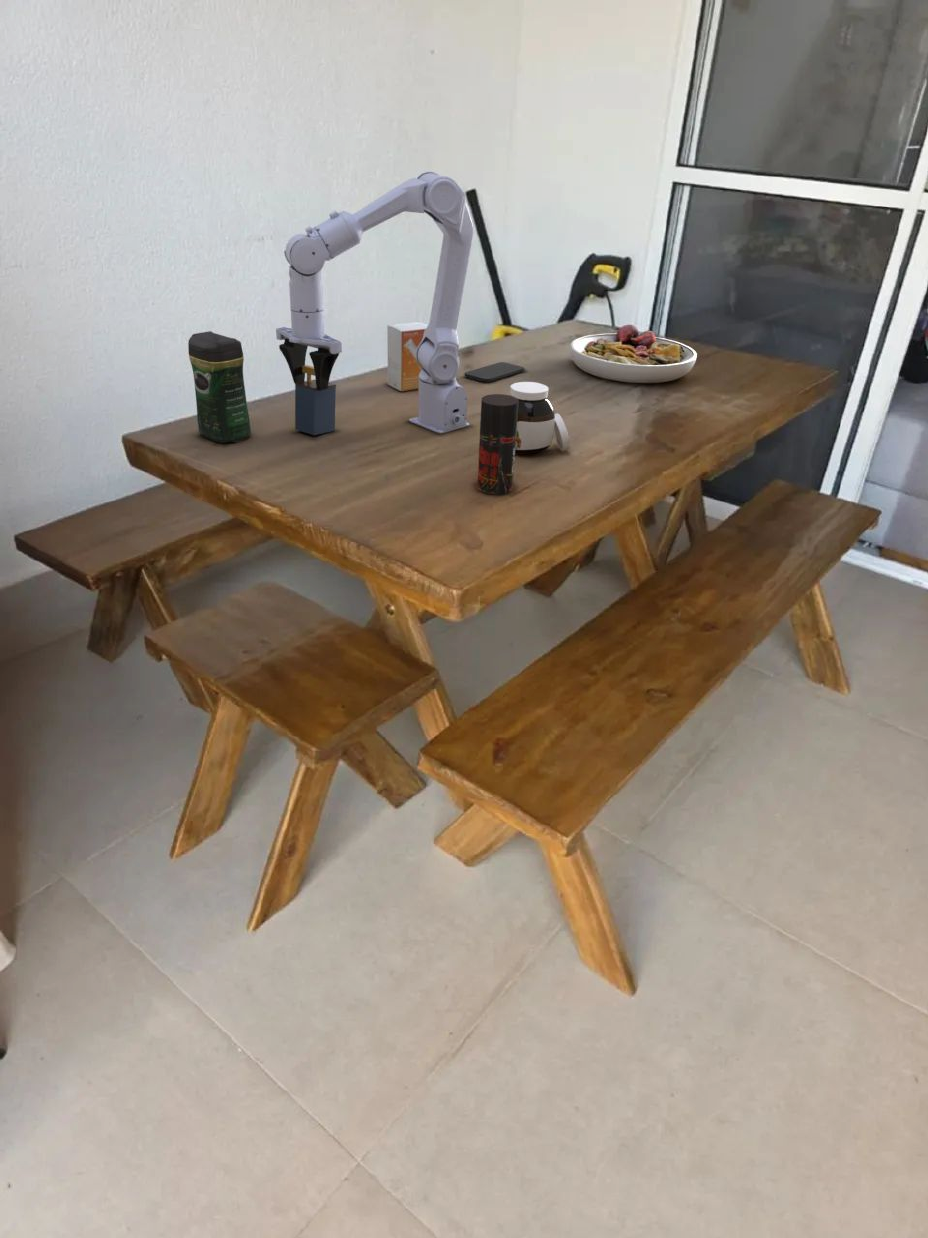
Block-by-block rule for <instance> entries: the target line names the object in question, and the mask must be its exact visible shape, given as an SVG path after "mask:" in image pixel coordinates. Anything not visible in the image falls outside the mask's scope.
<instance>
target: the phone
mask: <svg viewBox="0 0 928 1238" xmlns="http://www.w3.org/2000/svg"><path fill="white" fill-rule="evenodd" d="M524 371H525V367H524V366H522V365H517V364H513V363H509V362H504V361H500V362H496V363H493V364H488V365H486V366H482V367H479V368H476V369H472V370H467V371H465V372H464V377H466V378H469V379H472V380H476V381H479V382H484V383H490V382H494V381H498V380H501V379H503V378H507V377H510V376H513V375H516V374H521V373H523V372H524Z"/></svg>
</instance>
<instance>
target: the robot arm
mask: <svg viewBox="0 0 928 1238" xmlns="http://www.w3.org/2000/svg"><path fill="white" fill-rule="evenodd" d="M404 212H405V213H417V214H424V213H425V214H426V215H427V216H429V217H430V218H431V219H432V220H433V222H434V223H435V224H436V226H437V227H438V228H439V230H440V232H441V233H442V235H443V236H442V243H441V248H440V255H439V261H438V266H437V267H438V268H437V274H436V280H435V285H434V293H433V297H432V304H431V310H430V317H429V323H428V324H427V325H428V326H427V328H426V329H425V331H424V335H423V339H422V341H421V343H420V344H419V345H418V347H417V350H416V360H417V362H418V364H419V365H420V366H421V372H420V374H419V389H418V410H417V411H418V413H417V414H418V416H415V417H411V418H409V419H408V421H409V422H410V423H412V424H415V425H416V426H419V427H421V428H424V429H427V430H430V431H431V432H435V433H437V434H440V435H441V434H446V433H449V432H452V431H453V432H454V431H456V430H459V429H462V428H466V427H469V426H470V423H469V422H467V413H468V412H467V411H468V393H467V391H466V389H465V387H463V386H462V385H460V384H459V383H458V381H457V376H458V374H459V372H460V369H461V361H460V357H459V348H460V342H459V337H458V332H457V328H458V323H459V318H460V312H461V306H462V301H463V300H462V299H463V295H464V289H465V283H466V278H467V273H468V268H469V267H468V266H469V260H470V256H471V255H470V254H471V249H472V244H473V238H474V231H475V230H474V229H475V228H474V223H473V220H472V217H471V214H470V211H469V207H468V205H467V195H466V193H465V192H464V191H463V189H462V188H461V187H460V185H458V183H457V181H455V180H454V179H453V178H451V177H449V176H444V175H440V174H438V173H436V172H434V171H425V172H422V173H420V174H419V175H418V176H417V177H415V176H414V177H411V178H408V179H406V180H405V181H403V182H402V183H400V184H398V185H397V186H395V187H393V188H392V189H390V190H389V191H388V192H386V193H383V195H381V196H380V197H378V198H376V199H374V200H373V201H371V202H370V203H368V204H367V205H365V206H363V207H362V208H361V209H359V210H357V211H356V212H354V213H351V212H348V211H345V210H341V211H340V212H338V211H336V210H333V211H331V212H330V213H329V214H328V215H329V217H330V218H328V219H326V220H324V221H322V222H321V223H319V224H317V225H315V226H314V227H312V226H310V225H309V226H307V227H306V228H305V232H306V234H305V233H303V234H302V233H297V234H295V235H293V236H292V237H290V238H289V240H288V242H287V243H286V245H285V250H284V257H285V259H286V261H287V262H288V264H289V266H288V277H289V280H288V290H289V306H290V323H291V324H290V325H291V327H286V326H281V327H277V328H275V333H276V340H279V341H283V340H284V341H283V343H281V344H279V345H278V349H279V350H280V352H281V353H282V356H283V357H284V359H285V361H286V363H287V365H288V369H289V371H290V374H291V377H292V381H293V384H295V383H297V382H303V381H306V380H305V379H306V373H303V372H302V366H304V365H306V357H307V352H308V347H310V348H314V349H317V350H314V351H310V352H308V355H309V358H310V359H311V362H312V367H314V370H315V376H314V377H315V378H314V380H315V379H316V387H317V390H319V391H321V390H324V389H327V388H328V383H330V378H331V374H332V371H333V368H334V365H335V364H336V361H337V360H338V357H339V356H340V353H342V352H343V343H342V341H341V340H338V339H336V338H333V337H332V336H330V335H327V334H325V320H324V319H325V317H324V316H325V315H324V296H323V292H324V291H323V281H322V269H323V267H324V265H325V263H326V261H327V262H330V261H331V260H333V259H335V258H337V257H338V256H340V255H342V254H344V253H346V252H347V251H349V250H351V249H352V248H354V247H356V246H358V245H359V244H360V243H361V241H362V237H363V234H364V233H365V232H367V231H368V230H370V229H373V228H375V227H377V226H379V225H380V224H382V223H384V222H386V221H388V220H391V219H392V218H394V217H396V216H398V215H400V214H402V213H404Z"/></svg>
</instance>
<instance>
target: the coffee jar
mask: <svg viewBox="0 0 928 1238" xmlns="http://www.w3.org/2000/svg"><path fill="white" fill-rule="evenodd" d="M187 345H188V346H187V347H188V357H189V361H190V365H191V368H192V373H193V383H194V391H195V402H196V403H195V404H196V417H197V418H196V419H197V427H198V433H199V434H200V435H201V436H202V437H204V438H206V439H207V440H210V441H212V442H216V443H219V444H220V443H221V444H223V443H238V442H242V441H243V440H245V439H247V438H248V437H250V436H251V434H252V429H251V421H250V415H249V414H250V413H249V408H248V401H247V395H246V387H245V380H244V378H245V377H244V361H245V360H244V359H245V357H244V351H243V347H242V342H241V341H240V340H238V339H237V338H234V337H229V336H226V335H223V334H219V333H215V332H214V331H212V330H210V331H203V332H202V331H201V332H197V333H193V334H192V335H191V336H190V337H189V339H188V343H187Z"/></svg>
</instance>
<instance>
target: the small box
mask: <svg viewBox="0 0 928 1238" xmlns="http://www.w3.org/2000/svg"><path fill="white" fill-rule="evenodd" d="M428 325H429V324H425V323H423V322H421V321H415V322H414V321H413V322H402V323H401V322H400V323H396V324H387V325H386V326H387V328H386V329H387V330H386V331H387V334H386V335H387V385H388V386H390V387H392V388H393V389H396V390H397V391H400V392H406V391H413V390H419V374H420V372H421V366H420V365H419V364H418V362H417V360H416V350H417V347H418V345H419V344H420V343H421V341H422V339H423V335H424V331H425V329H426V328H427V326H428Z"/></svg>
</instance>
